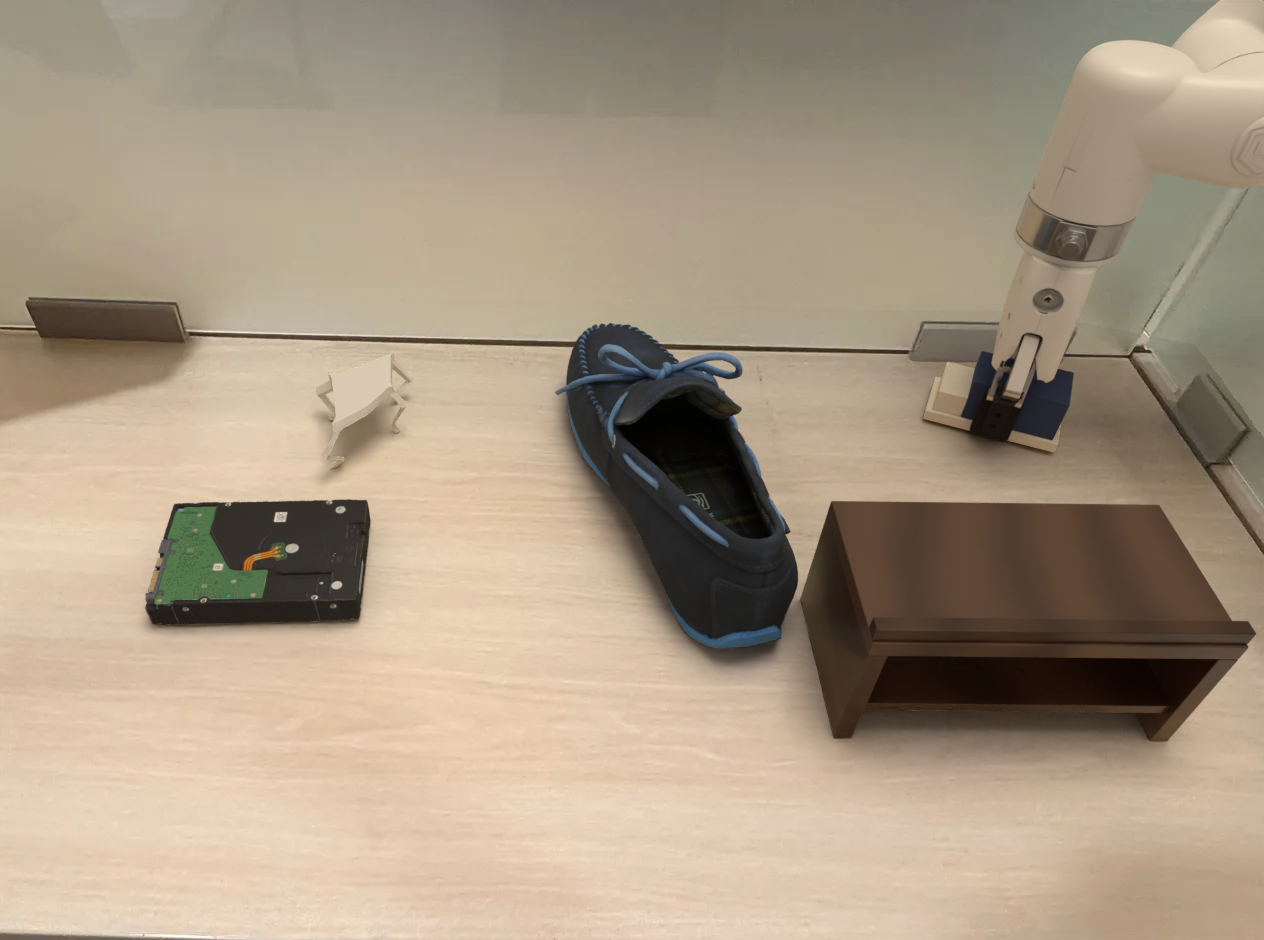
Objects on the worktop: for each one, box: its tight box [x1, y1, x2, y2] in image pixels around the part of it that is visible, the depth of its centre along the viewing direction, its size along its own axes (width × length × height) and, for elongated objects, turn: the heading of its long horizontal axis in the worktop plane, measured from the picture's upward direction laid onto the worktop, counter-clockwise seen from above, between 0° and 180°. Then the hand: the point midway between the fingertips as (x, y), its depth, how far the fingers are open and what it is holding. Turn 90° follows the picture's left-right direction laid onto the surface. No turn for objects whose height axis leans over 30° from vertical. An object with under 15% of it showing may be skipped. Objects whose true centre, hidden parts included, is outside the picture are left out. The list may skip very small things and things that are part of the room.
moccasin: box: [555, 322, 799, 649], centre depth 75 cm, size 14×34×12 cm, turn 21°
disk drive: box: [144, 498, 372, 626], centre depth 72 cm, size 10×3×15 cm
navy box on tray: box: [922, 350, 1075, 453], centre depth 85 cm, size 11×6×5 cm, turn 66°
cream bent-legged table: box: [315, 352, 414, 470], centre depth 82 cm, size 12×8×5 cm
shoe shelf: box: [800, 500, 1257, 742], centre depth 64 cm, size 22×12×11 cm, turn 90°
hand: (992, 413), depth 86 cm, fingers closed on navy box on tray, 5 cm apart
